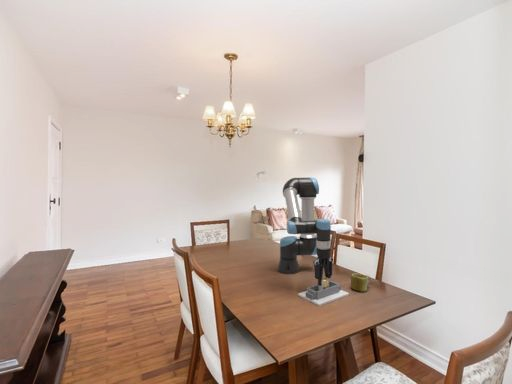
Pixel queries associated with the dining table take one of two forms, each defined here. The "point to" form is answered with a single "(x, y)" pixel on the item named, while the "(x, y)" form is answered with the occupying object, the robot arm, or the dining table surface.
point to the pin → (325, 283)
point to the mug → (359, 282)
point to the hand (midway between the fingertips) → (323, 290)
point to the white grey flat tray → (323, 294)
